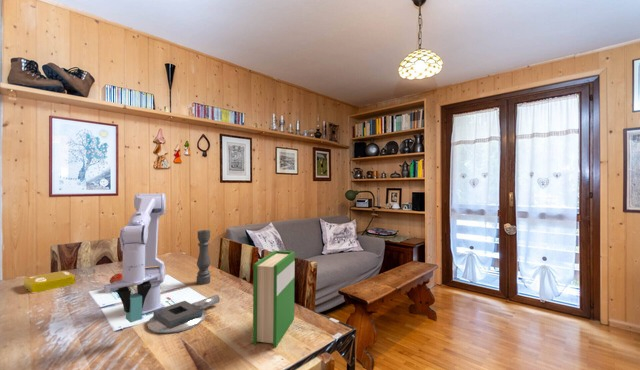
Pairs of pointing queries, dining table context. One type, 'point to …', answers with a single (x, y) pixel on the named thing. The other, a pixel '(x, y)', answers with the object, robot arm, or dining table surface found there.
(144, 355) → the dining table surface
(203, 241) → the candle holder
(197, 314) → the rosette bracket
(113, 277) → the pomegranate
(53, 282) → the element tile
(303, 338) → the dining table surface
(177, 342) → the dining table surface
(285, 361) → the dining table surface
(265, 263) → the hardback book
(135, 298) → the teal rectangular prism
